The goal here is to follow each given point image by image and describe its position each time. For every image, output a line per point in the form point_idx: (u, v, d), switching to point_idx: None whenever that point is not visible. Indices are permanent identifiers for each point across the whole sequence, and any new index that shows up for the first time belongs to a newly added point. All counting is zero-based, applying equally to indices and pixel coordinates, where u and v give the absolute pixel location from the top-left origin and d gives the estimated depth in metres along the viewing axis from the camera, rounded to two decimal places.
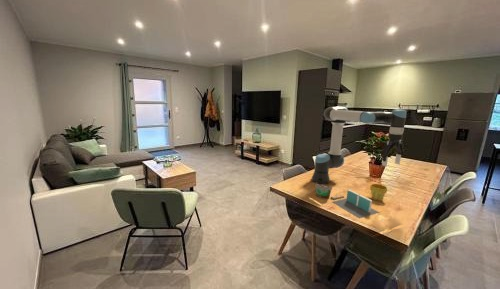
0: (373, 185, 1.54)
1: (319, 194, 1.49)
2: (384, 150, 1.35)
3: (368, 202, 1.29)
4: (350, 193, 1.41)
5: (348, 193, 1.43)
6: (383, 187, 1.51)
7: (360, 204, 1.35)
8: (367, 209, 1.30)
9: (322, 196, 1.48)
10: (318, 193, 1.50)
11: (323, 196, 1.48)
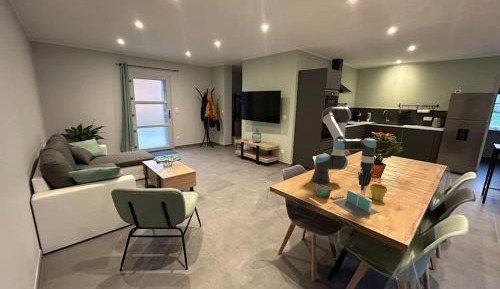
0: (373, 185, 1.54)
1: (319, 194, 1.49)
2: (360, 181, 1.41)
3: (368, 202, 1.29)
4: (350, 193, 1.41)
5: (348, 193, 1.43)
6: (383, 187, 1.51)
7: (360, 204, 1.35)
8: (367, 209, 1.30)
9: (322, 196, 1.48)
10: (318, 193, 1.50)
11: (323, 196, 1.48)
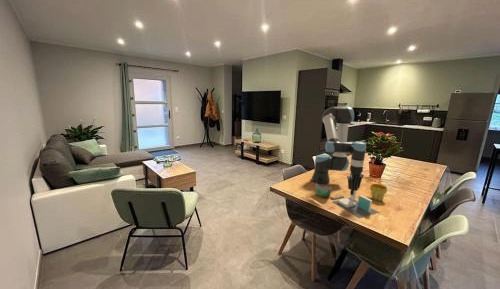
0: (373, 185, 1.54)
1: (319, 194, 1.49)
2: (349, 185, 1.38)
3: (368, 202, 1.29)
4: None
5: None
6: (383, 187, 1.51)
7: (360, 204, 1.35)
8: (367, 209, 1.30)
9: (322, 196, 1.48)
10: (318, 193, 1.50)
11: (323, 196, 1.48)
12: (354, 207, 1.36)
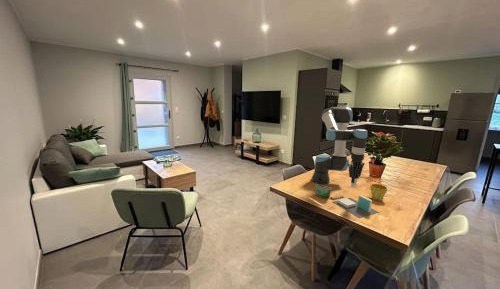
0: (373, 185, 1.54)
1: (319, 194, 1.49)
2: (350, 173, 1.36)
3: (368, 202, 1.29)
4: None
5: None
6: (383, 187, 1.51)
7: (360, 204, 1.35)
8: (367, 209, 1.30)
9: (322, 196, 1.48)
10: (318, 193, 1.50)
11: (323, 196, 1.48)
12: (354, 207, 1.36)
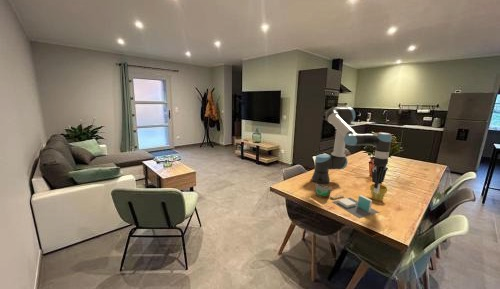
0: (373, 185, 1.54)
1: (319, 194, 1.49)
2: (373, 178, 1.32)
3: (368, 202, 1.29)
4: None
5: None
6: (383, 187, 1.51)
7: (360, 204, 1.35)
8: (367, 209, 1.30)
9: (322, 196, 1.48)
10: (318, 193, 1.50)
11: (323, 196, 1.48)
12: (354, 207, 1.36)
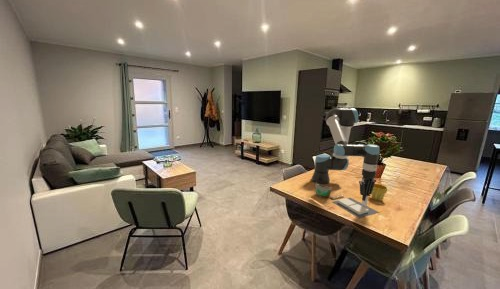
0: None
1: (319, 194, 1.49)
2: (361, 190, 1.29)
3: None
4: None
5: None
6: (383, 187, 1.51)
7: None
8: None
9: (322, 196, 1.48)
10: (318, 193, 1.50)
11: (323, 196, 1.48)
12: None
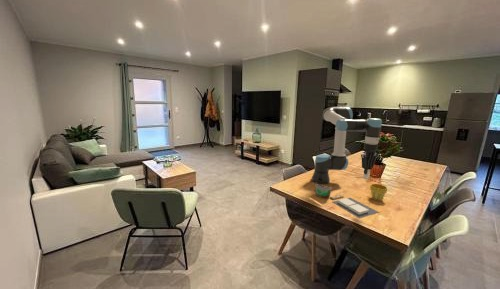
0: (373, 185, 1.54)
1: (319, 194, 1.49)
2: (363, 164, 1.32)
3: None
4: None
5: None
6: (383, 187, 1.51)
7: None
8: None
9: (322, 196, 1.48)
10: (318, 193, 1.50)
11: (323, 196, 1.48)
12: None
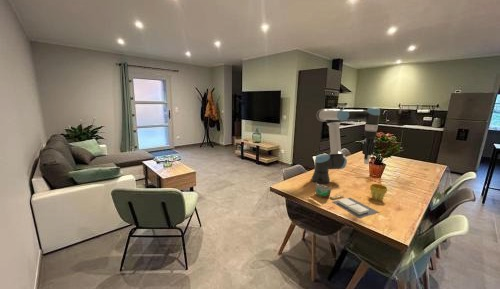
0: (373, 185, 1.54)
1: (319, 194, 1.49)
2: (363, 149, 1.43)
3: None
4: None
5: None
6: (383, 187, 1.51)
7: None
8: None
9: (322, 196, 1.48)
10: (318, 193, 1.50)
11: (323, 196, 1.48)
12: None
